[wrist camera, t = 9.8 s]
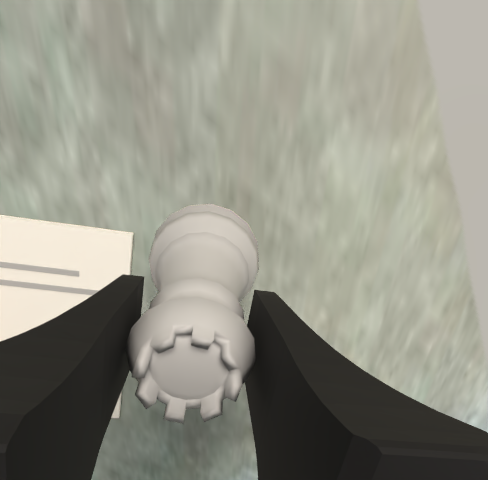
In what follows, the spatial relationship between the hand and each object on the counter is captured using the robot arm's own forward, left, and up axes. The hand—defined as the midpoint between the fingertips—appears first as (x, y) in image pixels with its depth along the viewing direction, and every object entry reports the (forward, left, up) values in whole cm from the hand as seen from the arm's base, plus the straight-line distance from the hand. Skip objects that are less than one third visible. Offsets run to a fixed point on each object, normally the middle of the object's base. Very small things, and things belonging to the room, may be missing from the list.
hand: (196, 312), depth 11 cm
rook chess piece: (0, 0, -5) cm, 5 cm away
